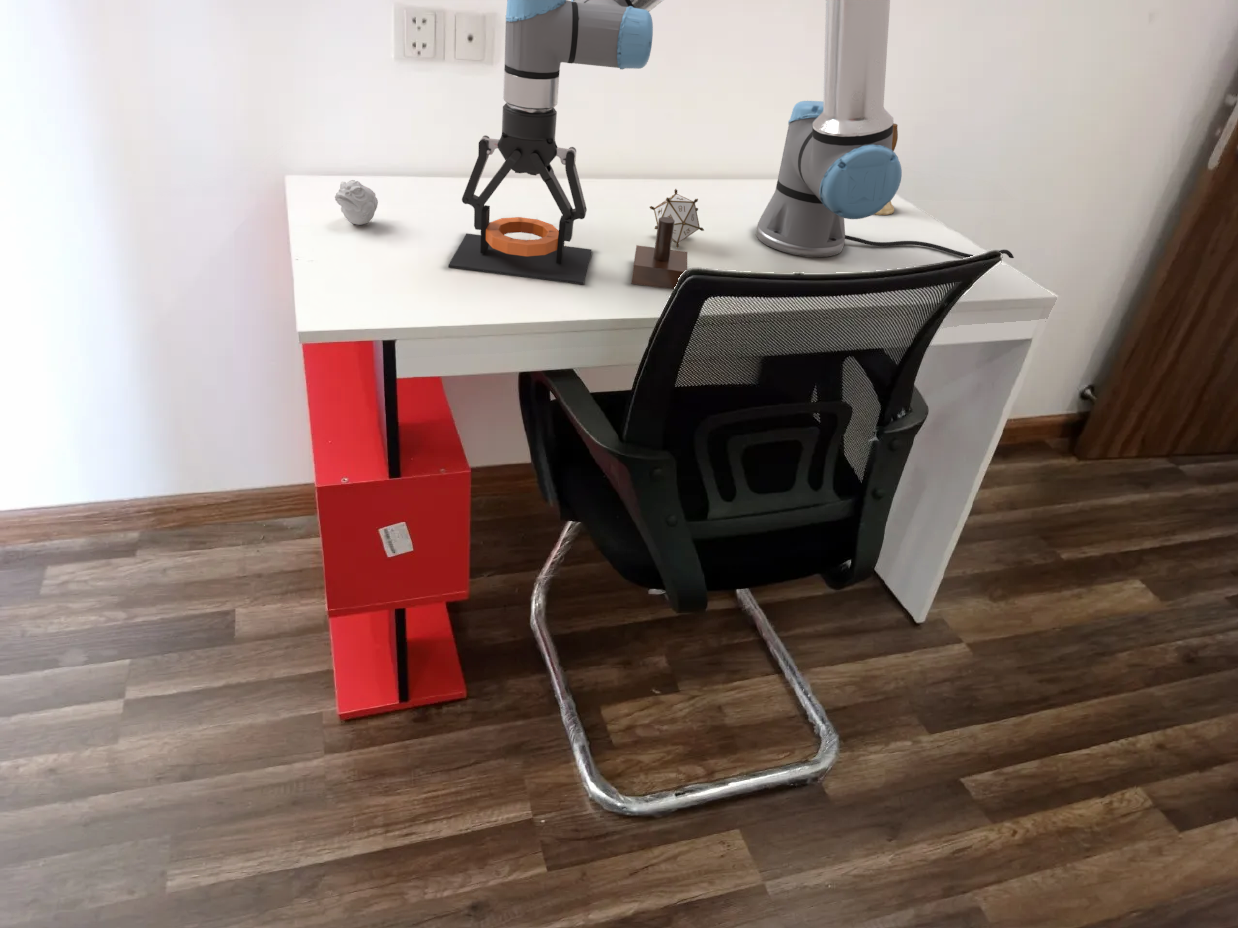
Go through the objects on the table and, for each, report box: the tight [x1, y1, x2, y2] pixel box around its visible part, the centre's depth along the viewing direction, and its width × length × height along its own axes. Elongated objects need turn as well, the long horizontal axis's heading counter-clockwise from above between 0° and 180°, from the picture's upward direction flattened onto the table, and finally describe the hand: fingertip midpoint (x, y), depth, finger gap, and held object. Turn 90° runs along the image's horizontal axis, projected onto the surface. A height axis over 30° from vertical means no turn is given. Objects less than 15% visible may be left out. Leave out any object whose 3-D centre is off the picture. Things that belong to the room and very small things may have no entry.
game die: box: [649, 188, 705, 249], centre depth 149 cm, size 9×8×10 cm
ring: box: [486, 216, 559, 256], centre depth 137 cm, size 11×11×2 cm
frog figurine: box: [334, 179, 379, 226], centre depth 141 cm, size 6×7×7 cm
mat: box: [447, 232, 592, 285], centre depth 139 cm, size 20×13×1 cm, turn 86°
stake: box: [631, 217, 689, 290], centre depth 136 cm, size 8×8×9 cm
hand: (522, 255), depth 138 cm, fingers open, 11 cm apart
